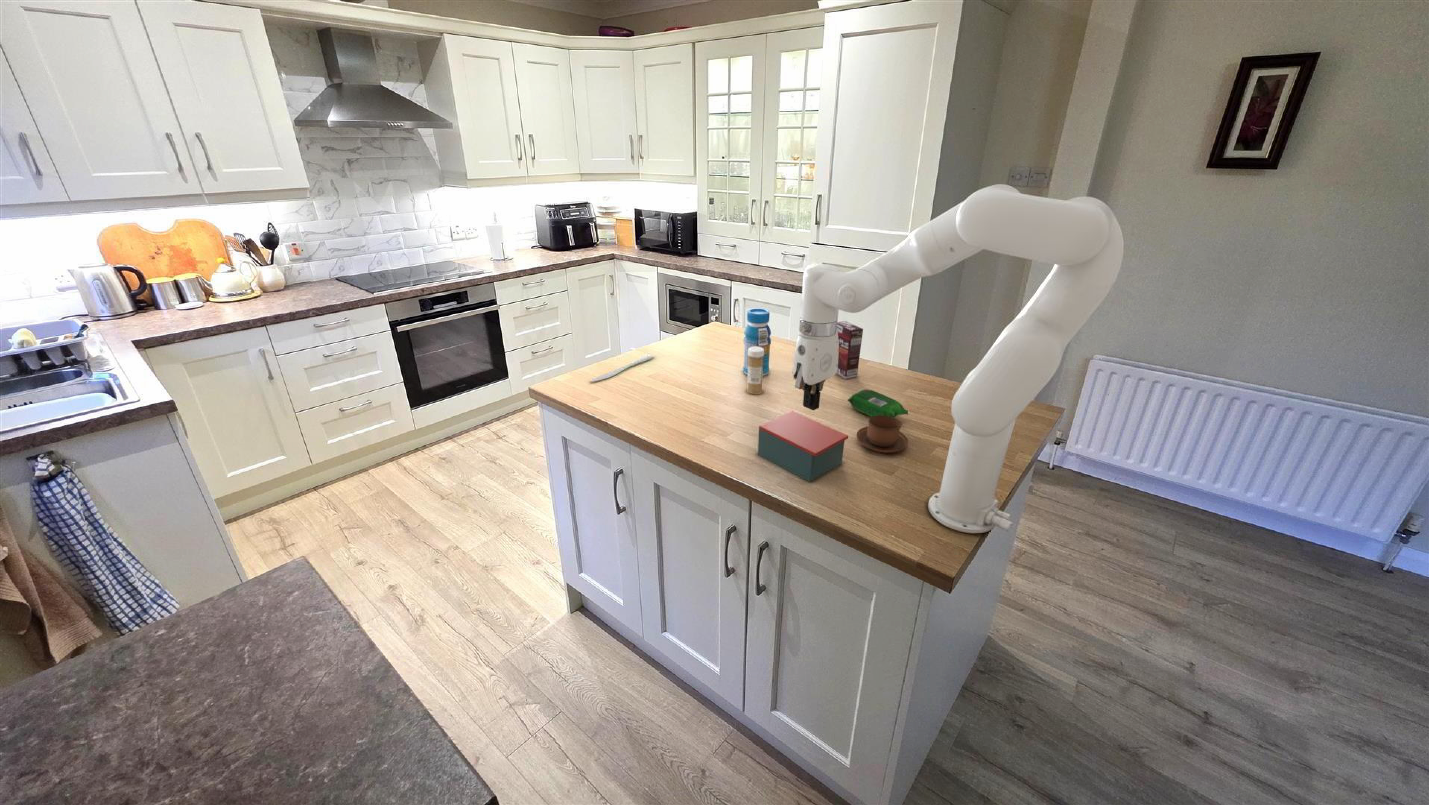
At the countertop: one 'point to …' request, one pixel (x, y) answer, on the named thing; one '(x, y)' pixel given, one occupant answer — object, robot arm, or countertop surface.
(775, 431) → the lid
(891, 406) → the snack package
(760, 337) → the beverage bottle
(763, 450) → the open box
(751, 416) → the countertop surface
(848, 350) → the supplement box
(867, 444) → the cup and saucer
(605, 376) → the butter knife
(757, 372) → the sprinkles bottle
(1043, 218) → the robot arm
